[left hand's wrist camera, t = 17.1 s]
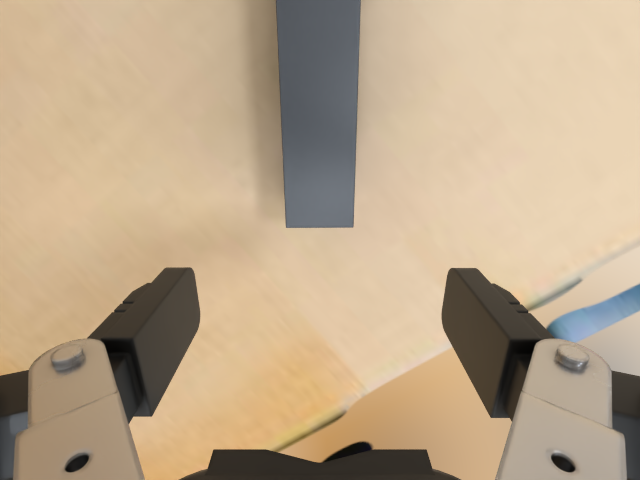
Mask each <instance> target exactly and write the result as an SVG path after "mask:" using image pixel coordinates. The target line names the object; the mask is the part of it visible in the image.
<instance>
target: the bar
mask: <svg viewBox="0 0 640 480" xmlns="http://www.w3.org/2000/svg"><path fill="white" fill-rule="evenodd" d="M360 5H361V0H276V13H277V35H278V58H279V81H280V103H281V126H282V148H283V171H284V194H285V216H286V228H341V227H353V224H354V193H355V161H356V130H357V99H358V68H359V36H360Z"/></svg>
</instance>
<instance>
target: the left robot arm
mask: <svg viewBox="0 0 640 480" xmlns="http://www.w3.org/2000/svg"><path fill="white" fill-rule="evenodd" d="M199 323H200V307H199V301H198V294H197V287H196V281H195V275H194V271H193V269H192V268H165V269H164V270H163V271H162V272H161V273H160V274H159V275H158V276H157V277H156V278H155V279H154V281H153V282H152V283H147V284H145V285H143V286H142V287H140V288H138V289H136V290H135V291H133V292H132V293H131V294H130V295H129V296H128V297H127V298H126V299H125V300H124V301H123V304H120V305H119V306H118V307H117V308H116V309H115V310H114V312H112V313H111V314H110V315H109V316H108V317H107V318H106V319H105V320H104V321H103V323H102V324H101V325H100V326H99V327H98V328H97V329H96V330H95V331H94V332H93V333H92V334H91V335H90V336H89V337H88V338H87V339H78V340H74V341H70V342H66V343H64V344H61V345H58V346H56V347H54V348H52V349H50V350H48V351H47V352H45V353H44V354H42V355H41V356H40V357H38V358H37V359H36V360H35V361H34V362H33V364H32V365H31V367H30V369H29V370H27V371H22V372H17V373H12V374H7V375H2V376H0V480H145V478H144V475H143V471H142V468H141V465H140V461H139V458H138V455H137V451H136V448H135V444H134V441H133V438H132V434H131V431H130V428H129V423H130V421H131V419H132V418H133V416H152V415H153V413H154V412H155V410H156V408H157V406H158V404H159V402H160V400H161V398H162V396H163V395H164V393H165V391H166V389H167V387H168V385H169V383H170V381H171V379H172V378H173V376H174V374H175V372H176V370H177V368H178V366H179V364H180V362H181V361H182V359H183V357H184V355H185V353H186V351H187V349H188V347H189V345H190V344H191V342H192V340H193V338H194V336H195V334H196V332H197V330H198V327H199ZM442 324H443V328H444V331H445V333H446V335H447V337H448V339H449V341H450V342H451V344H452V346H453V348H454V350H455V352H456V354H457V356H458V357H459V359H460V361H461V363H462V365H463V367H464V369H465V370H466V372H467V374H468V376H469V378H470V380H471V382H472V383H473V385H474V387H475V389H476V391H477V393H478V395H479V396H480V398H481V400H482V402H483V404H484V406H485V408H486V410H487V412H488V413H489V415H490V417H491V418H510V419H511V421H512V424H511V428H510V431H509V434H508V438H507V441H506V444H505V448H504V451H503V455H502V458H501V461H500V465H499V468H498V472H497V475H496V478H495V480H640V376H635V375H630V374H626V373H621V372H615V371H611V369H610V367H609V365H608V364H607V362H606V361H605V360H604V359H603V358H602V357H600V356H599V355H598V354H596V353H595V352H593V351H592V350H590V349H588V348H586V347H584V346H582V345H579V344H576V343H574V342H570V341H566V340H562V339H555V338H554V337H553V336H552V335H551V334H550V333H549V332H548V331H547V330H546V329H545V328H544V327H543V326H542V325H541V324H540V323H539V322H538V321H537V320H536V318H535V317H534V316H533V315H532V314H530V313H528V310H527V309H526V308H525V307H524V306H523V305H520V302H519V301H518V300H517V299H516V298H515V297H514V296H513V295H512V294H511V293H510V292H508V291H507V290H505V289H503V288H501V287H500V286H498V285H496V284H491V283H490V282H489V281H488V280H487V279H486V278H485V277H484V275H483V274H482V273H481V272H480V271H479V270H478V269H476V268H451V269H450V270H449V272H448V275H447V281H446V287H445V294H444V300H443V307H442ZM180 480H460V479H458V478H456V477H454V476H452V475H449V474H447V473H444V472H441V471H439V470H435V469H432V466H431V463H430V460H429V457H428V453H427V450H371V451H367V452H363V453H359V454H355V455H351V456H347V457H343V458H340V459H336V460H332V461H328V462H323V463H317V462H312V461H308V460H304V459H300V458H297V457H293V456H289V455H285V454H281V453H277V452H273V451H269V450H213V453H212V456H211V460H210V463H209V466H208V469H205V470H201V471H199V472H196V473H193V474H191V475H188V476H186V477H184V478H182V479H180Z"/></svg>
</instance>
